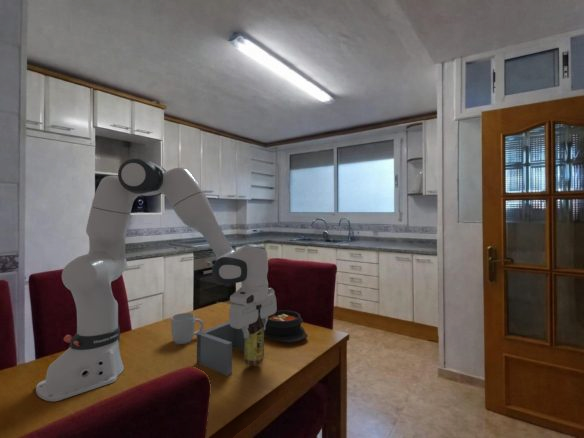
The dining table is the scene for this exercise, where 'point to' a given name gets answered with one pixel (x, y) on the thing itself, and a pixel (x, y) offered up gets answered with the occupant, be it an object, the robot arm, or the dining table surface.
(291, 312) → the casserole
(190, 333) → the mug
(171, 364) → the dining table surface
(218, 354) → the folding screen
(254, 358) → the sauce bottle
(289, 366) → the dining table surface
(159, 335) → the dining table surface
